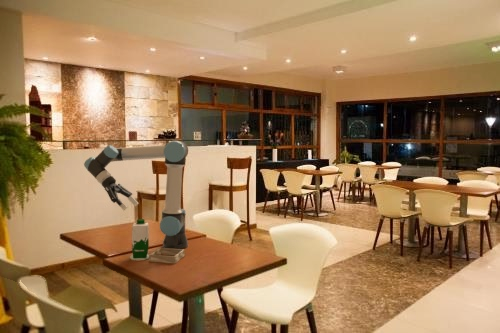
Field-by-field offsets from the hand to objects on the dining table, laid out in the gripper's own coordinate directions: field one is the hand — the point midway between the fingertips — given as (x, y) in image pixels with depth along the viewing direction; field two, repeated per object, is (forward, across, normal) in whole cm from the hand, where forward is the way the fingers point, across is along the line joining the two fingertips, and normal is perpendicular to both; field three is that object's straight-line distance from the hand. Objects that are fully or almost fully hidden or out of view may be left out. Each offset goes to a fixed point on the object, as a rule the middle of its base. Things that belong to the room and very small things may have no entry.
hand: (131, 206), depth 218 cm
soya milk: (+24, +6, -14) cm, 28 cm away
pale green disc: (+24, +6, -14) cm, 29 cm away
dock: (+35, +4, -3) cm, 36 cm away
